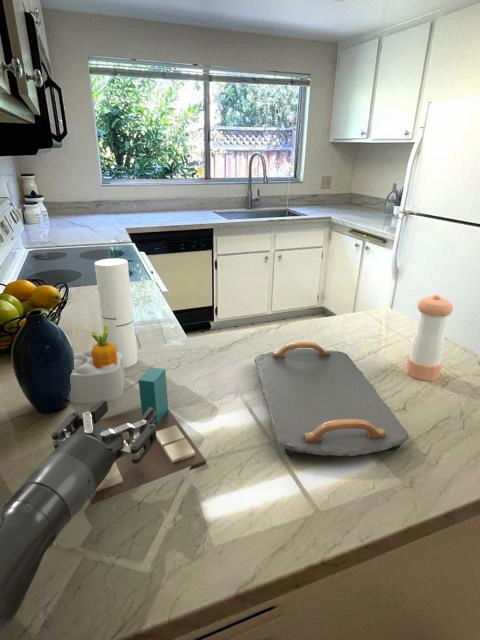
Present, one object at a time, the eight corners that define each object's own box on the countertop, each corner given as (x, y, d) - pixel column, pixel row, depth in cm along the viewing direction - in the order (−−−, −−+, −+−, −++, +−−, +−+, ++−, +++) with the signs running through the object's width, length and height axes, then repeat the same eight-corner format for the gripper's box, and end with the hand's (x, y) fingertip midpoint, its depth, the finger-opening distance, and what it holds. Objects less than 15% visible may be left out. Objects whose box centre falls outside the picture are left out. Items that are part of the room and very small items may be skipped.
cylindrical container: (113, 354, 103) (101, 258, 94) (141, 355, 102) (131, 258, 93) (103, 368, 96) (89, 265, 87) (133, 368, 96) (121, 266, 87)
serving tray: (251, 360, 100) (251, 337, 97) (342, 356, 102) (344, 334, 99) (280, 472, 64) (282, 440, 62) (419, 463, 66) (426, 431, 64)
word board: (92, 508, 57) (90, 500, 57) (69, 432, 73) (68, 425, 73) (206, 463, 66) (206, 457, 65) (163, 404, 82) (162, 398, 81)
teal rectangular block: (142, 422, 75) (138, 380, 72) (154, 407, 79) (150, 367, 76) (157, 424, 74) (153, 382, 71) (168, 409, 79) (165, 368, 75)
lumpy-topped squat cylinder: (121, 403, 82) (116, 366, 79) (54, 408, 80) (47, 370, 77) (127, 378, 91) (123, 343, 88) (67, 382, 90) (61, 347, 87)
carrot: (101, 401, 82) (91, 334, 77) (94, 391, 86) (84, 326, 81) (124, 394, 85) (117, 329, 79) (117, 384, 89) (109, 321, 83)
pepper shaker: (400, 373, 94) (413, 295, 87) (413, 362, 99) (426, 288, 92) (432, 384, 89) (448, 302, 82) (444, 372, 94) (460, 295, 87)
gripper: (114, 464, 48) (167, 394, 63) (13, 446, 51) (87, 383, 66) (121, 511, 51) (170, 433, 66) (25, 491, 54) (93, 421, 69)
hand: (128, 408), depth 66 cm, fingers open, 8 cm apart
